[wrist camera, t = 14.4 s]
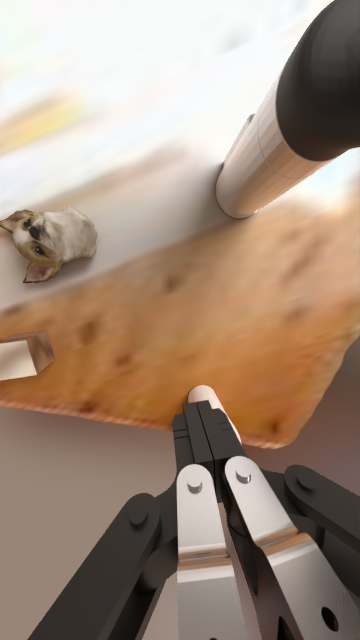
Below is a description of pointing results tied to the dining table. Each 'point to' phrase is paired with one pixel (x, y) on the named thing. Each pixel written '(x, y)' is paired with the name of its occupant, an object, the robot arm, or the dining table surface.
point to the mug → (207, 394)
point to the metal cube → (24, 354)
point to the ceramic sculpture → (50, 240)
